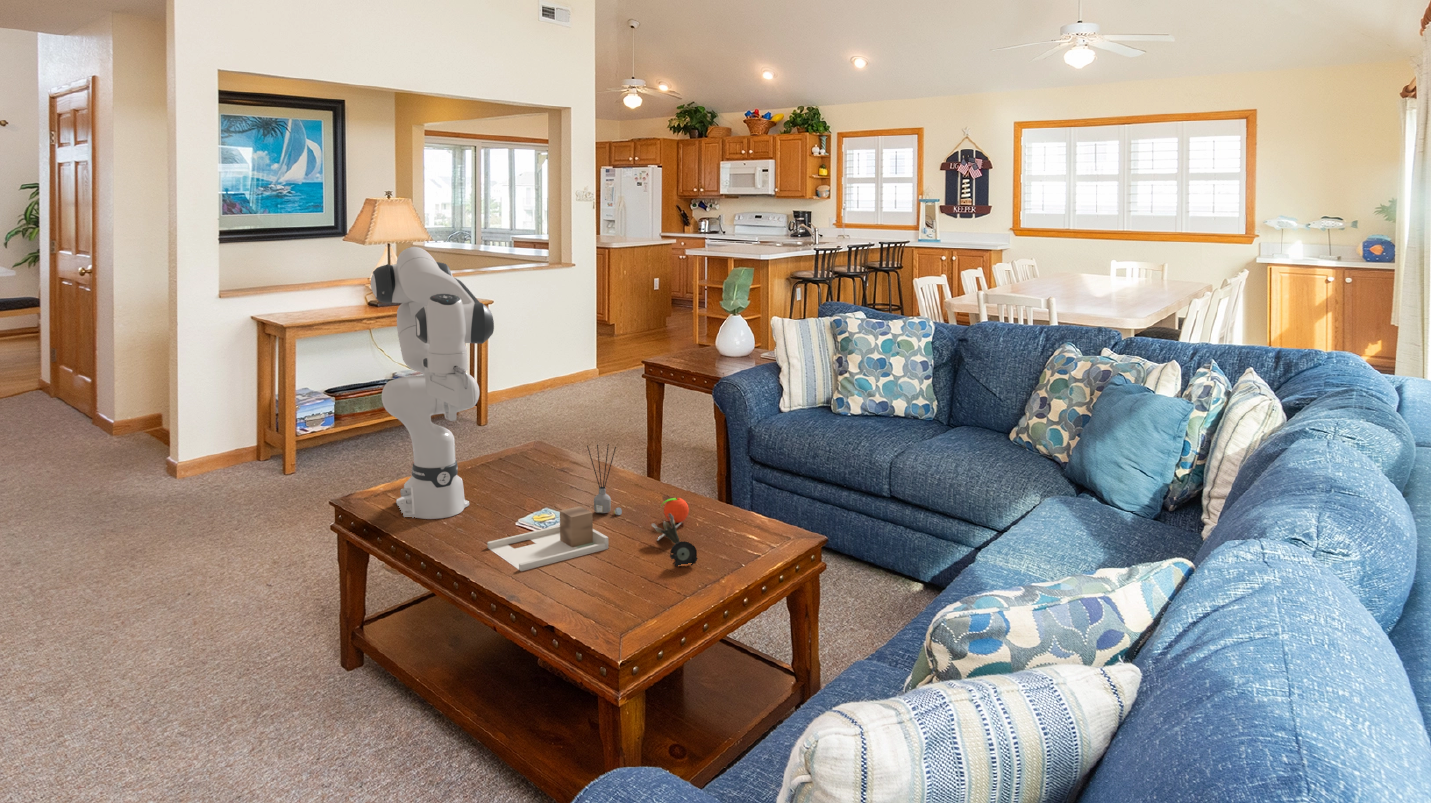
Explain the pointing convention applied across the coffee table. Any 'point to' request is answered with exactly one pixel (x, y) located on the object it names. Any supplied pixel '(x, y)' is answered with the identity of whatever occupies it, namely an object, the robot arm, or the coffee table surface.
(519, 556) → the white rimmed tray
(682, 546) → the artificial flower
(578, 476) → the coffee table surface
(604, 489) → the reed diffuser
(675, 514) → the clementine
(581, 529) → the walnut block
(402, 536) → the coffee table surface
